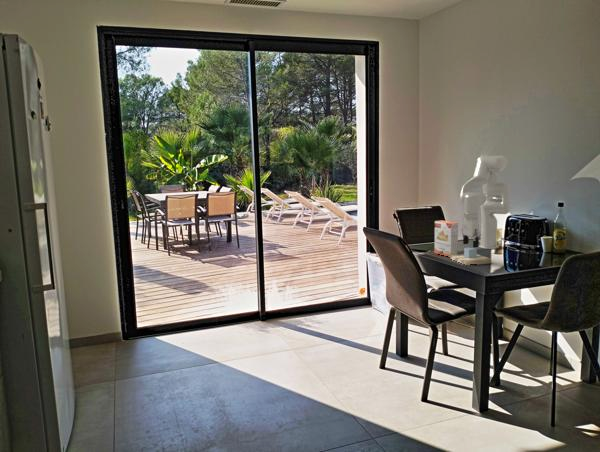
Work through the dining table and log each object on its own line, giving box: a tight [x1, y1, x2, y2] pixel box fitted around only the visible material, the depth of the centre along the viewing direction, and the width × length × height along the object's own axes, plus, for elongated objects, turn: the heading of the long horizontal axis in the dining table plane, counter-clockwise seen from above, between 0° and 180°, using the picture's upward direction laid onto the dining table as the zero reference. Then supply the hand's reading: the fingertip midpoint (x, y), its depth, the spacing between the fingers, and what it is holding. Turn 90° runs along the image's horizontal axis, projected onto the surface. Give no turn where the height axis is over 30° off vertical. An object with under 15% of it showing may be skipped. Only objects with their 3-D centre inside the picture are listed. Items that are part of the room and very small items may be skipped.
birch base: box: [449, 253, 492, 266], centre depth 277 cm, size 16×16×2 cm
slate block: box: [463, 246, 478, 258], centre depth 277 cm, size 5×5×5 cm
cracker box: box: [433, 219, 459, 258], centre depth 292 cm, size 14×6×21 cm, turn 27°
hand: (470, 245), depth 276 cm, fingers open, 9 cm apart
